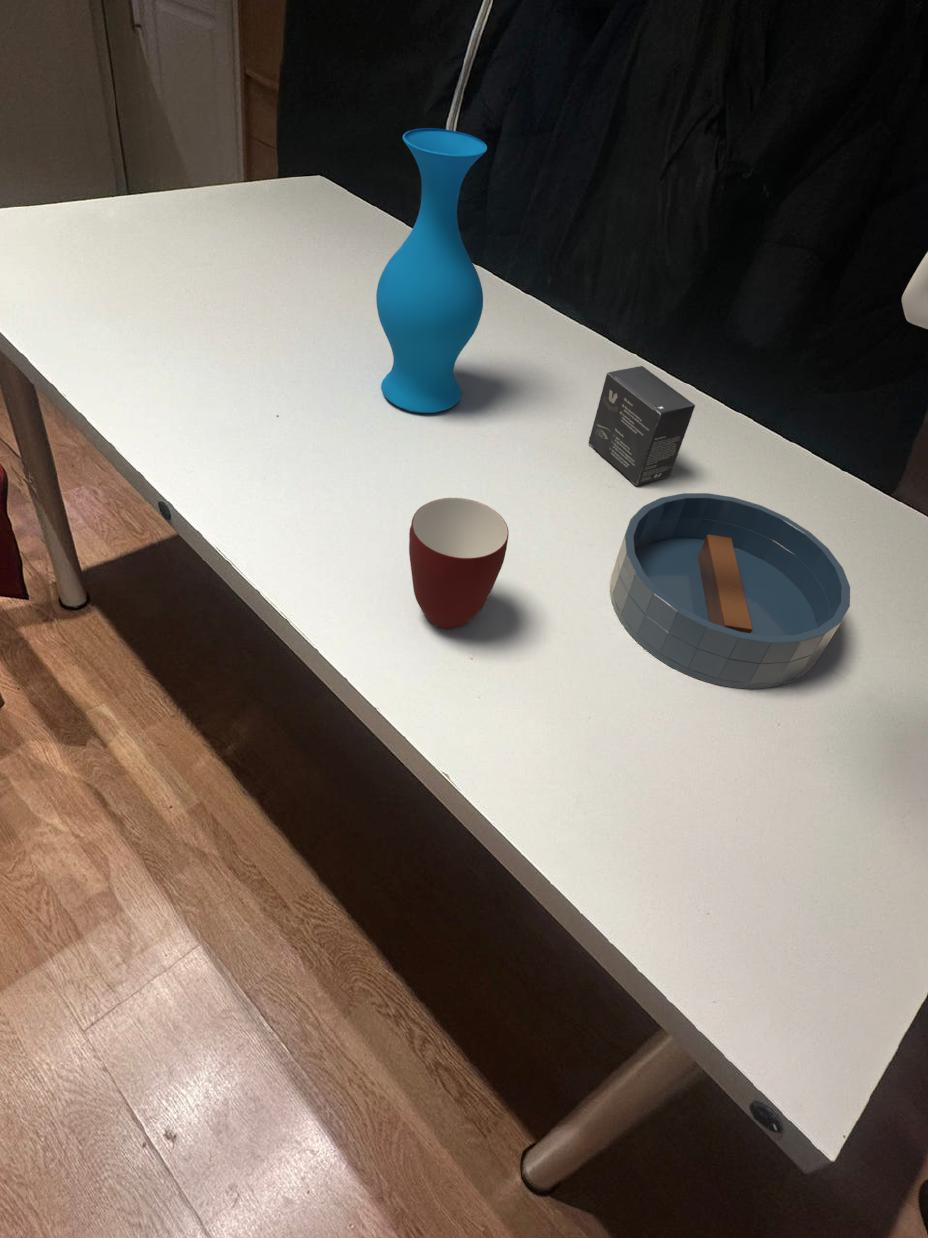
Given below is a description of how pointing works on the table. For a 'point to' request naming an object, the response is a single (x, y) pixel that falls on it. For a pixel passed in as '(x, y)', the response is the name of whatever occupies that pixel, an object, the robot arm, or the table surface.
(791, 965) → the table surface
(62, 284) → the table surface
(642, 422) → the box
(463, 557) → the mug
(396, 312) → the vase
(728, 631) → the bowl
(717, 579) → the stick
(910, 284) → the robot arm
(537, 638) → the table surface
